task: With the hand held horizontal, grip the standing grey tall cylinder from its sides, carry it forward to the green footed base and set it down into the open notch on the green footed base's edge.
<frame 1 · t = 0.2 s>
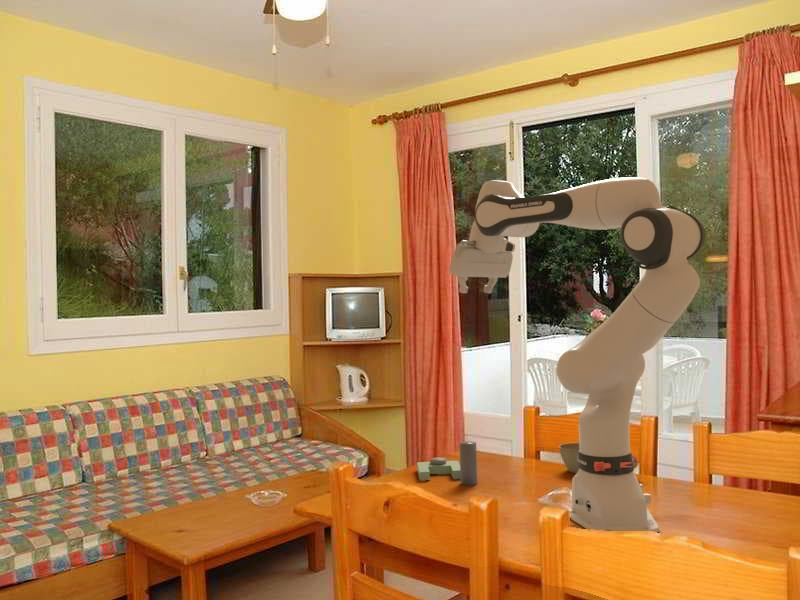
hand: (475, 292, 191), 51 cm above the table, tool tilted 15°, fingers open, 8 cm apart
flower pot: (577, 471, 204), on the table
green footed base: (440, 477, 202), on the table
grey tall cylinder: (469, 483, 195), on the table
cupcake: (621, 479, 194), on the table
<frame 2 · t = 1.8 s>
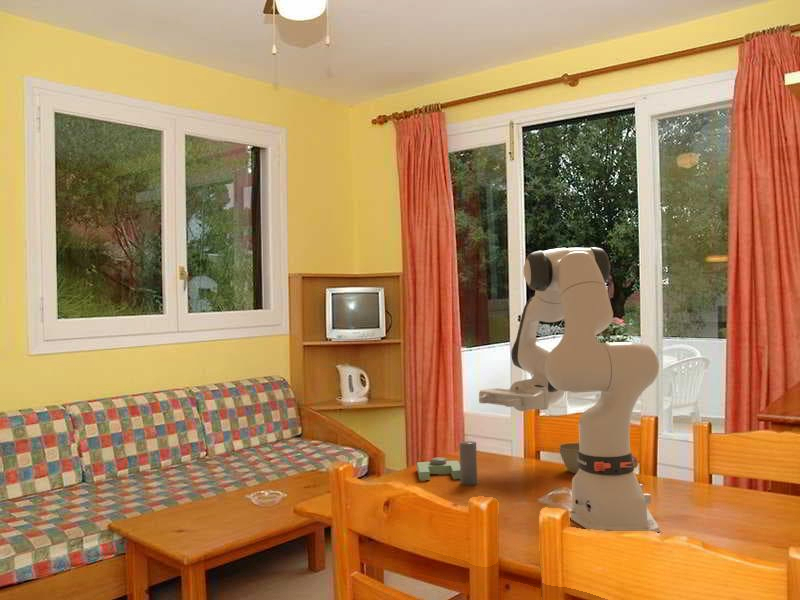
hand: (493, 402, 202), 21 cm above the table, tool horizontal, fingers open, 8 cm apart
nothing on the table moved.
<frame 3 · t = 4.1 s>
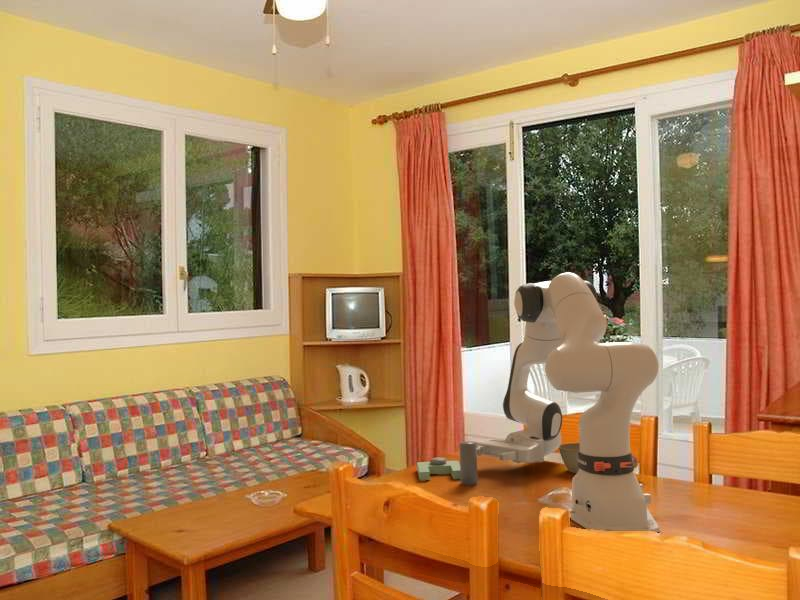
hand: (488, 454, 200), 6 cm above the table, tool horizontal, fingers open, 8 cm apart
nothing on the table moved.
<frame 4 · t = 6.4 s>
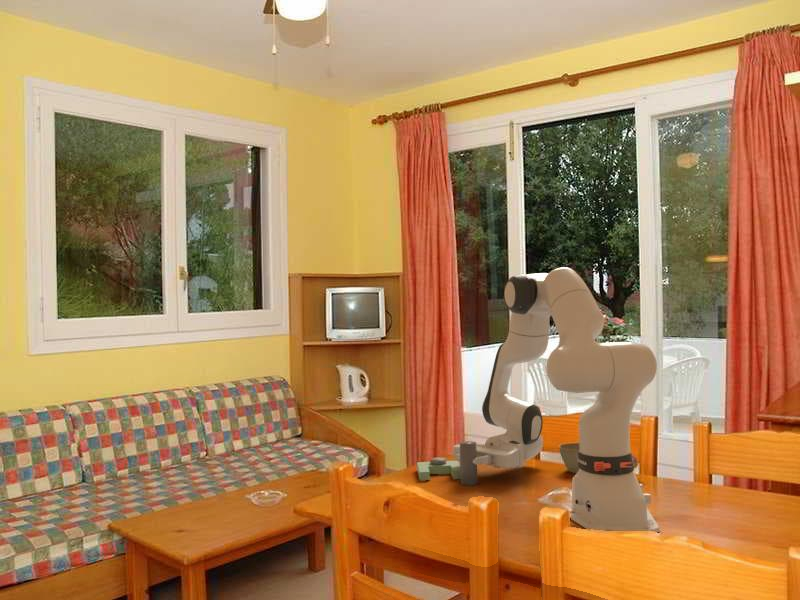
hand: (466, 459, 194), 7 cm above the table, tool horizontal, fingers closed on grey tall cylinder, 4 cm apart
grey tall cylinder: (469, 483, 195), on the table, touching gripper
everything else where it was.
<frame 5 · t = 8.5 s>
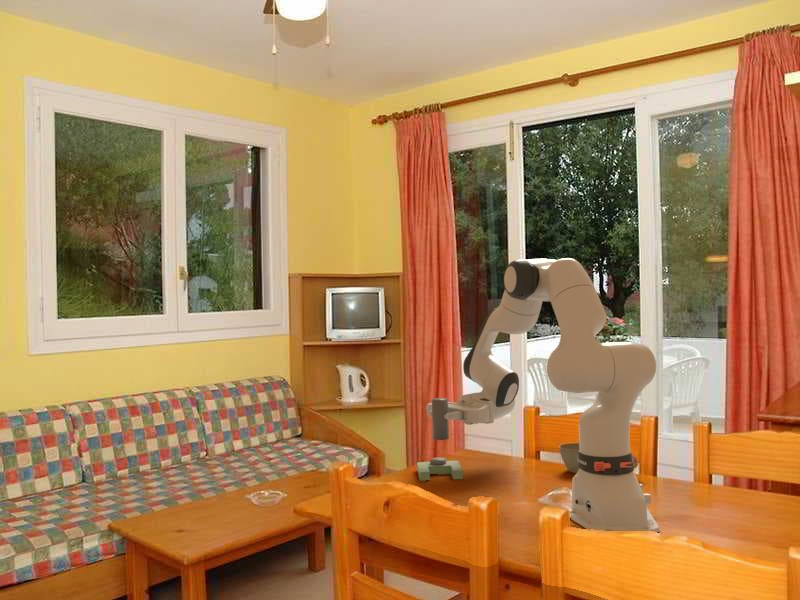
hand: (437, 415, 201), 17 cm above the table, tool horizontal, fingers closed on grey tall cylinder, 4 cm apart
grey tall cylinder: (440, 438, 202), point 11 cm above the table, touching gripper
everything else where it was.
when the fingers open (8 cm above the table, at t = 10.6 s): grey tall cylinder drops 2 cm, on the table.
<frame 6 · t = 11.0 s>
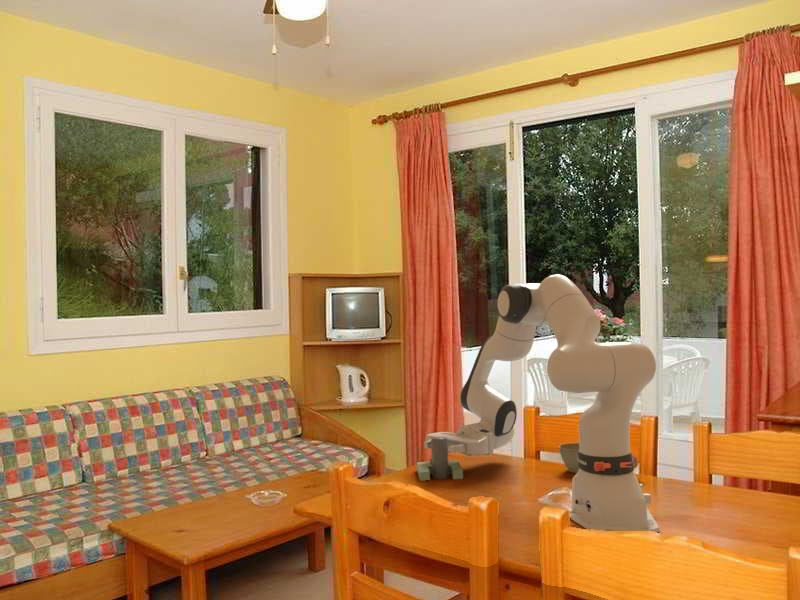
hand: (437, 447, 202), 8 cm above the table, tool horizontal, fingers open, 8 cm apart
grey tall cylinder: (440, 477, 202), on the table
everything else where it was.
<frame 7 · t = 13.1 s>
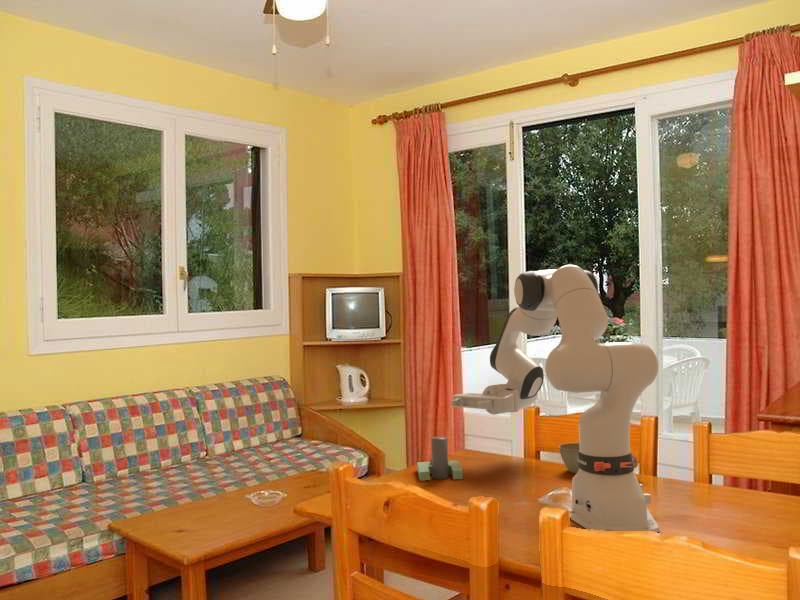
hand: (465, 404, 209), 19 cm above the table, tool horizontal, fingers open, 8 cm apart
nothing on the table moved.
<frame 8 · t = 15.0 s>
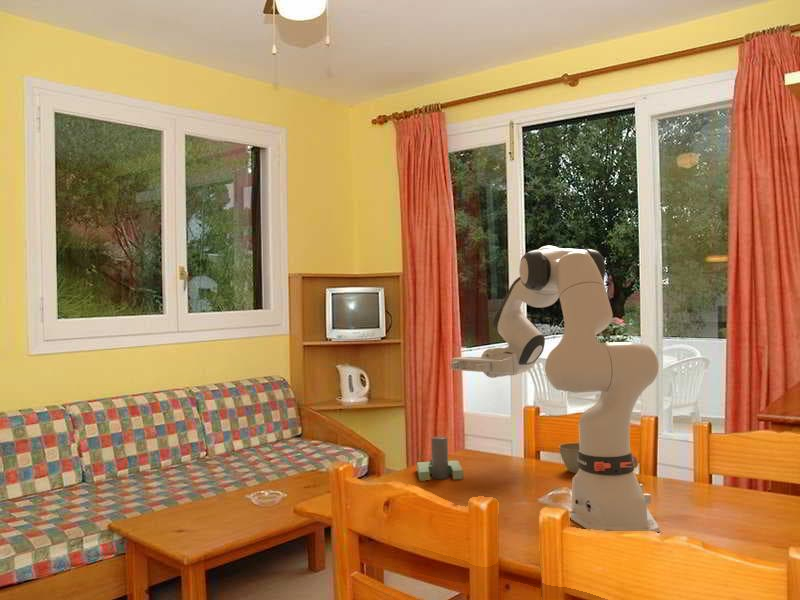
hand: (463, 367, 210), 30 cm above the table, tool horizontal, fingers open, 8 cm apart
nothing on the table moved.
at the end: grey tall cylinder 0.0 cm off-centre on the green footed base, point 0.0 cm above the green footed base's base; grey tall cylinder tilted 0°; the gripper is holding nothing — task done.
